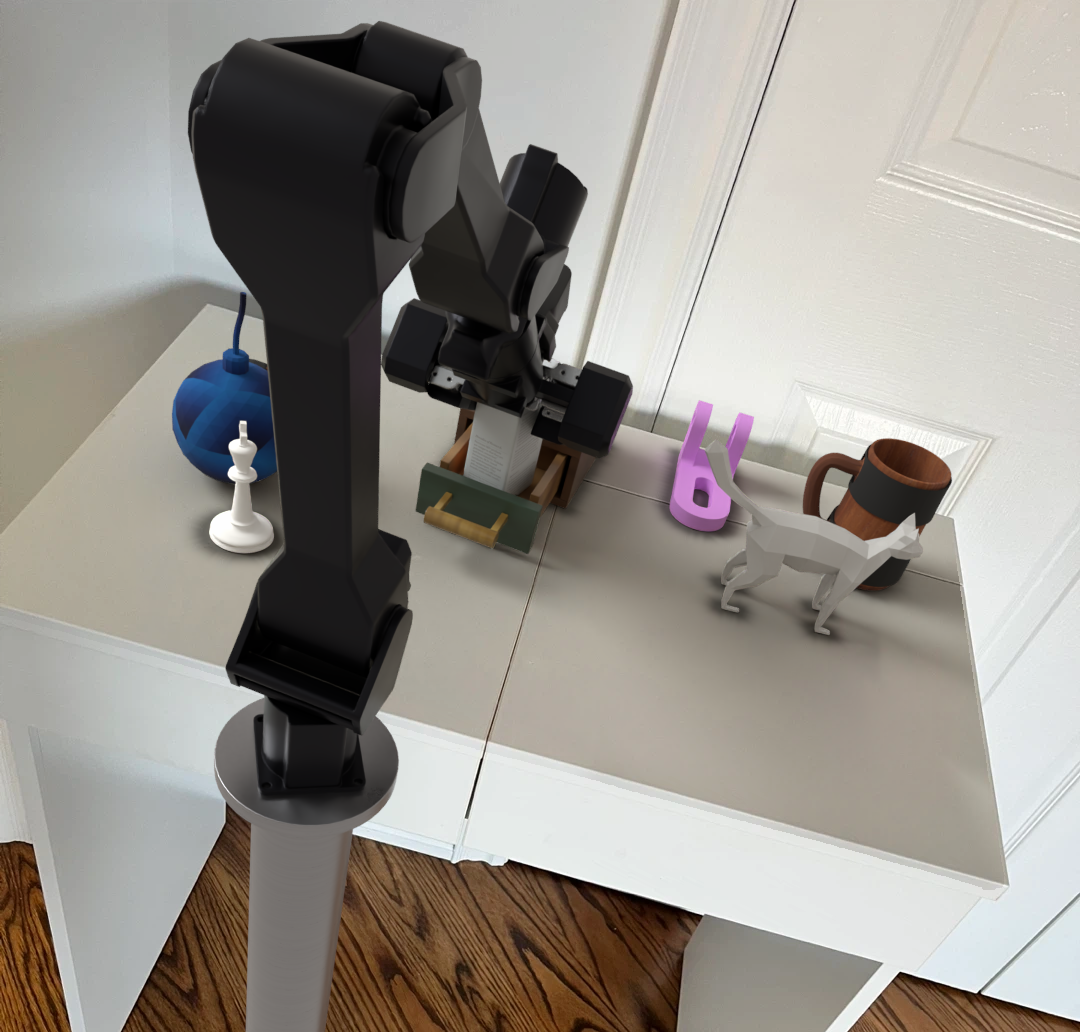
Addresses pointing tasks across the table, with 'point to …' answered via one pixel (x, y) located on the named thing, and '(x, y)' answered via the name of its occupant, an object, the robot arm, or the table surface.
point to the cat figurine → (804, 546)
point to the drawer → (487, 499)
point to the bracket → (705, 472)
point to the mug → (882, 495)
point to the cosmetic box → (504, 447)
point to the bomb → (225, 411)
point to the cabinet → (577, 461)
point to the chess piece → (242, 505)
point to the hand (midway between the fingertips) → (516, 416)
